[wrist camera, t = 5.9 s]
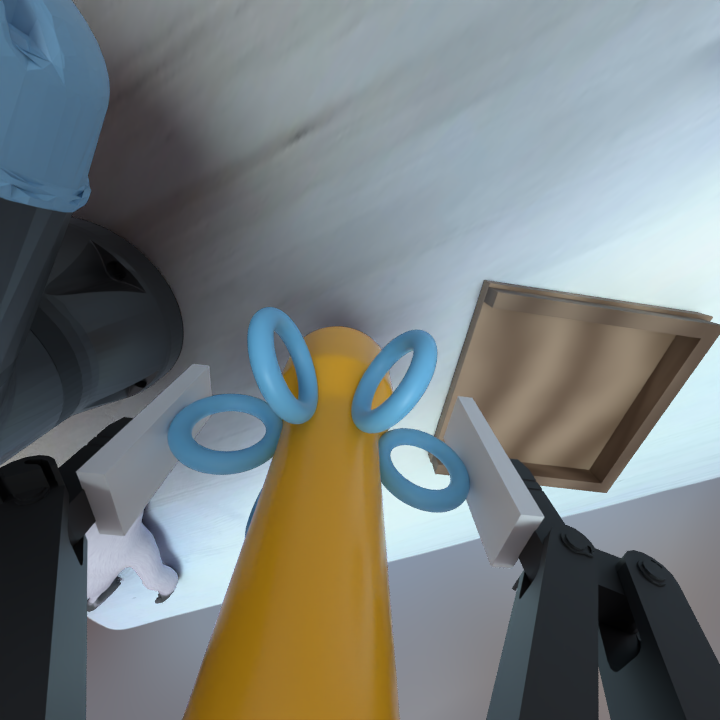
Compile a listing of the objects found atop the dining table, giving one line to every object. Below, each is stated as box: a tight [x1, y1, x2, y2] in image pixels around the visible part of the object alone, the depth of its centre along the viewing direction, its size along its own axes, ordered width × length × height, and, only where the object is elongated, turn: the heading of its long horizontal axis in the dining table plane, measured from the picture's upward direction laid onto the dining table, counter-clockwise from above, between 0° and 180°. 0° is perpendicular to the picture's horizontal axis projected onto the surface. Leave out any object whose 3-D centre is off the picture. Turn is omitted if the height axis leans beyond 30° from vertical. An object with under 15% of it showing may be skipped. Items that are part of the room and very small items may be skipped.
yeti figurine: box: [85, 510, 178, 612], centre depth 38 cm, size 20×7×20 cm
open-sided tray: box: [428, 280, 720, 493], centre depth 28 cm, size 19×19×3 cm
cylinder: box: [167, 307, 470, 720], centre depth 12 cm, size 12×10×15 cm
